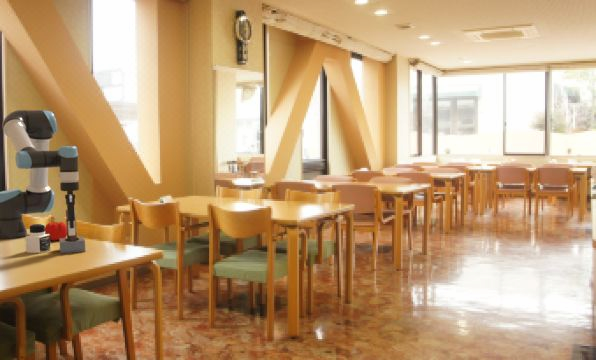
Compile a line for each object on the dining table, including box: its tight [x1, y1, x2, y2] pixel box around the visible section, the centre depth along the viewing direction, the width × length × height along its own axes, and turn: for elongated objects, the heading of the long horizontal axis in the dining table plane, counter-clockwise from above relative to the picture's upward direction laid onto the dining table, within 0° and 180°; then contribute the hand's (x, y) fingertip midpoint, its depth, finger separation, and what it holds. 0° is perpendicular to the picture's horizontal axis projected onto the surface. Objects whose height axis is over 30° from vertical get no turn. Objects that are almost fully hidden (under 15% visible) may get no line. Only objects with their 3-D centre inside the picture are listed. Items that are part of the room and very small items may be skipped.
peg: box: [65, 208, 78, 241], centre depth 241 cm, size 4×4×14 cm
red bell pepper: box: [44, 221, 67, 241], centre depth 267 cm, size 11×11×9 cm
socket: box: [58, 236, 86, 255], centre depth 242 cm, size 10×10×5 cm
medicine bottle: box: [24, 223, 51, 254], centre depth 241 cm, size 7×7×12 cm
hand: (71, 234), depth 242 cm, fingers closed on peg, 4 cm apart
